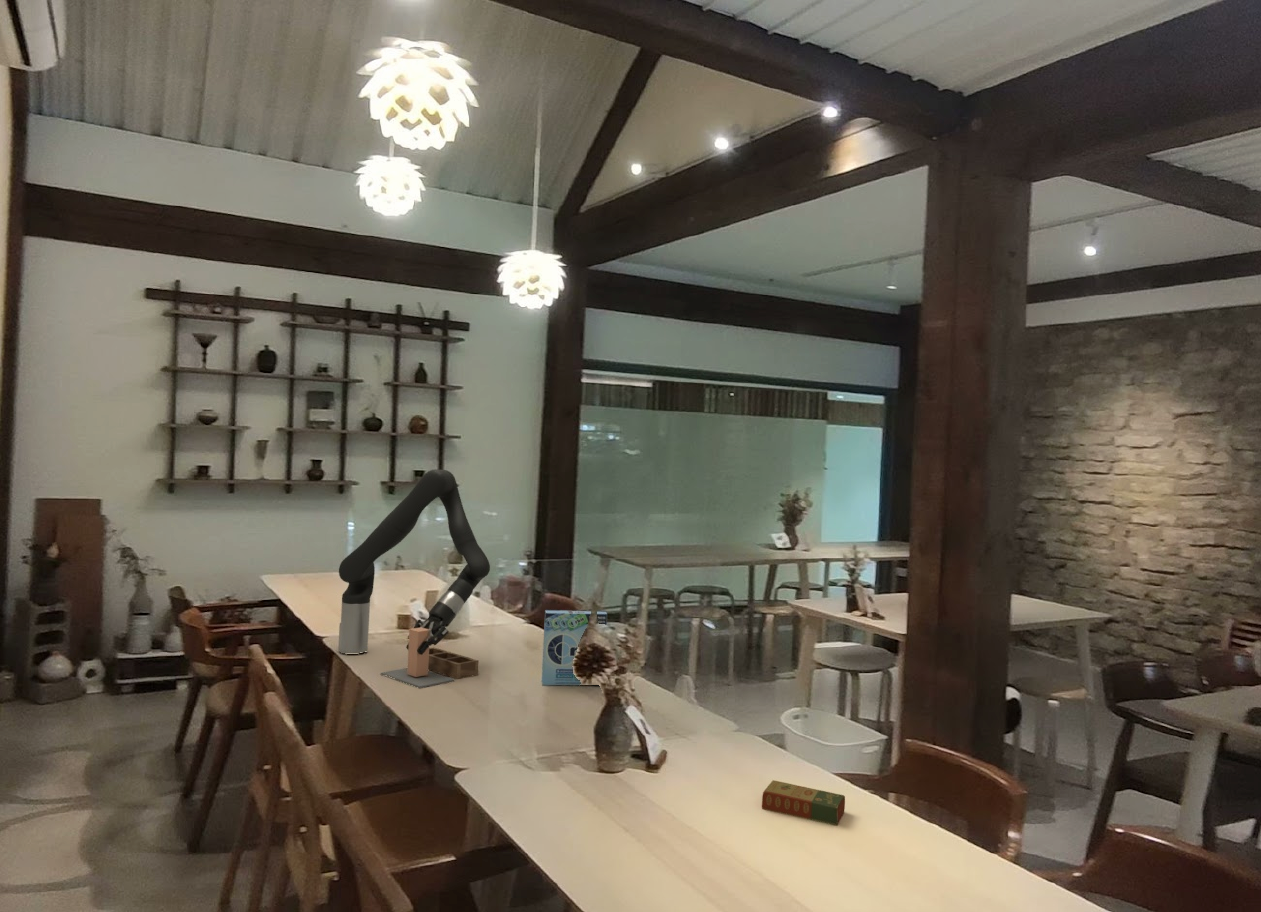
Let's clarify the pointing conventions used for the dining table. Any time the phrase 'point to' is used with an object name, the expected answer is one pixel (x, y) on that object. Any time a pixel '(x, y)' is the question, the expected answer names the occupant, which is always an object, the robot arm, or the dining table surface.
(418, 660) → the block
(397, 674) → the mat
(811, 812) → the carton
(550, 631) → the gum box
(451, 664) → the stand
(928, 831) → the dining table surface
